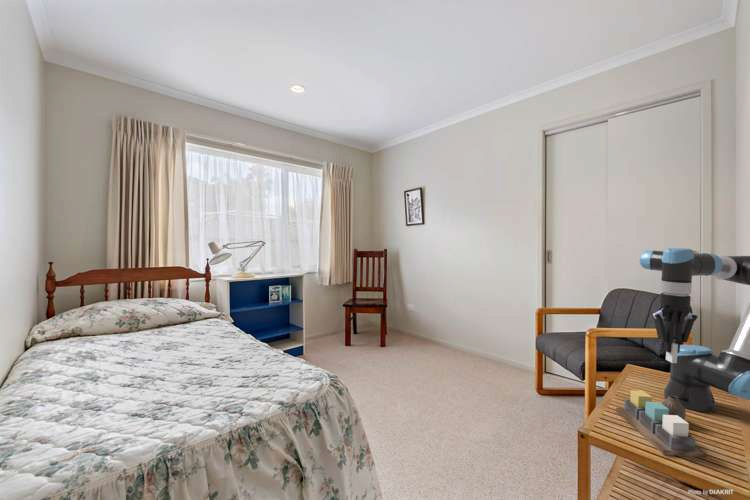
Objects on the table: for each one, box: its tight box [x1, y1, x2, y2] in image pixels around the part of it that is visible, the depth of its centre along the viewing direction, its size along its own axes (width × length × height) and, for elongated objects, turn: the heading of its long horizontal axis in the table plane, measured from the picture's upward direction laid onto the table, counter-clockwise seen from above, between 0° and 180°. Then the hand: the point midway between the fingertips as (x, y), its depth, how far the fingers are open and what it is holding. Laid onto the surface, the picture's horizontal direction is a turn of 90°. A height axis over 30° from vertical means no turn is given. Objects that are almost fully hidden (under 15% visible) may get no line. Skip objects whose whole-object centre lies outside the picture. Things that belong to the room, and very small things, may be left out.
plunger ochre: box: [629, 389, 653, 408], centre depth 119 cm, size 4×4×5 cm
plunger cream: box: [662, 415, 690, 437], centre depth 104 cm, size 4×4×5 cm
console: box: [615, 398, 707, 458], centre depth 112 cm, size 12×24×6 cm, turn 173°
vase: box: [660, 396, 687, 420], centre depth 118 cm, size 7×7×9 cm
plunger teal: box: [645, 401, 669, 421], centre depth 111 cm, size 4×4×5 cm
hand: (671, 361), depth 110 cm, fingers closed
